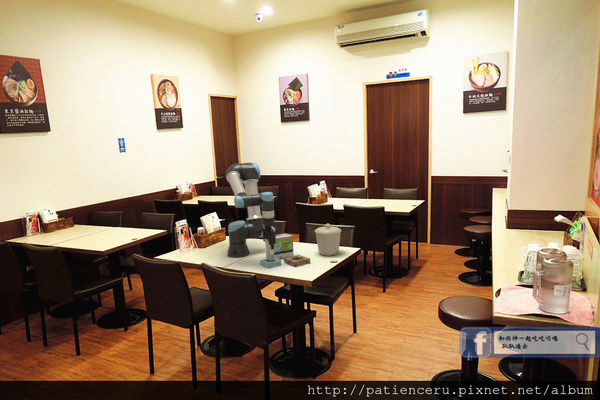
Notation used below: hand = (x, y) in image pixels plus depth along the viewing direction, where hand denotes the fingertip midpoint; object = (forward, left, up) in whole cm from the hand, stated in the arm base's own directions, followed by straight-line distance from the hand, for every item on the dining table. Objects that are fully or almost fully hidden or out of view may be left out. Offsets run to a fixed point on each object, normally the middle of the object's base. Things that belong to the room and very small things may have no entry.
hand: (269, 253), depth 253 cm
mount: (0, 0, -7) cm, 8 cm away
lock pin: (0, 0, -5) cm, 5 cm away
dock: (+8, +15, -8) cm, 19 cm away
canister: (+6, +43, -8) cm, 44 cm away
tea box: (-11, +15, -8) cm, 20 cm away
